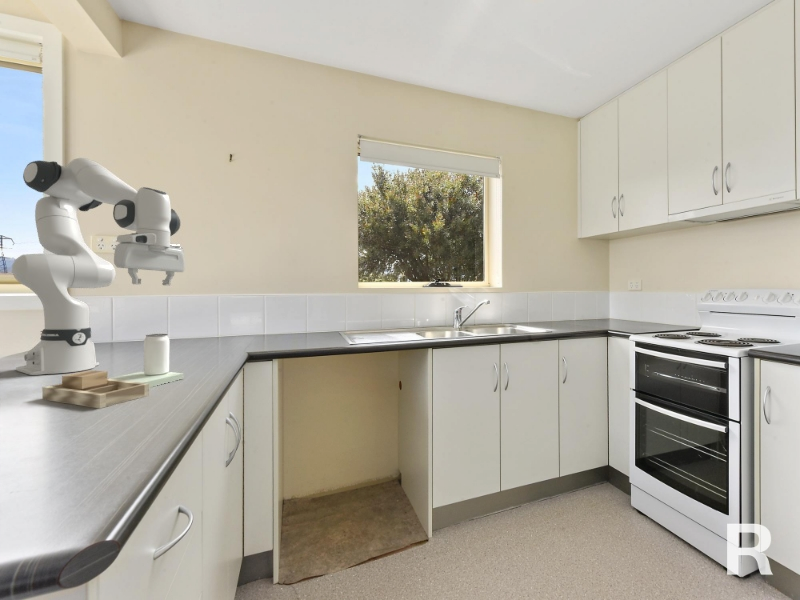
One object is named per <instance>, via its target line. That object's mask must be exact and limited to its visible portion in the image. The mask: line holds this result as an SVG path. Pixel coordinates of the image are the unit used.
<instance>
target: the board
mask: <svg viewBox="0 0 800 600" xmlns="http://www.w3.org/2000/svg"><path fill="white" fill-rule="evenodd" d="M184 374H185V373H183V372H174V371H169V372H168V373H166V374H163V375H155V376H148V375H145V374H144V370H143V371H137V372H133V373H127V374H123V375H118V376H112V377H107V379H114V380H122V381H130V382H139V383H147V384H149V387H150V388H153V386H154V387H157V385H158V386H162V385H165V384H164V383H166V384H169V383H168V382H170V383H173V382H172V381H174V382H176V381H175V380H178V381H180V380H179V379H182V380H184V379H185V378H184V377H185V376H184ZM183 378H184V379H183ZM161 384H162V385H161Z"/></svg>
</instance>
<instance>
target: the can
mask: <svg viewBox="0 0 800 600" xmlns="http://www.w3.org/2000/svg"><path fill="white" fill-rule="evenodd" d="M143 371H144V374H145V375H148V376H155V375H163V374H166V373H168V372H170V337H169V334H168V333H150V334H145V338H144V340H143Z"/></svg>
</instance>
